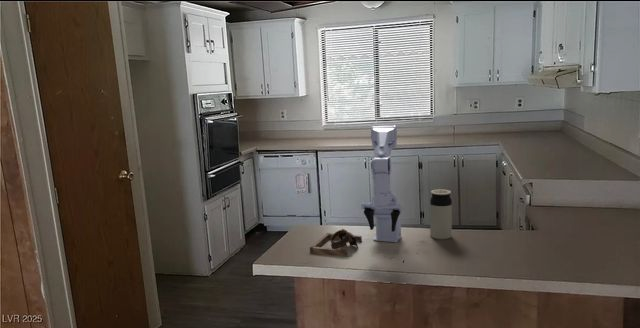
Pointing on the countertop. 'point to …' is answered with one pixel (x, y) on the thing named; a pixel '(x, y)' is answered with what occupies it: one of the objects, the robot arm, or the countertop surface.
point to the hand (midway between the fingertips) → (382, 229)
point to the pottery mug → (343, 239)
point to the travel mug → (440, 214)
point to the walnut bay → (329, 251)
